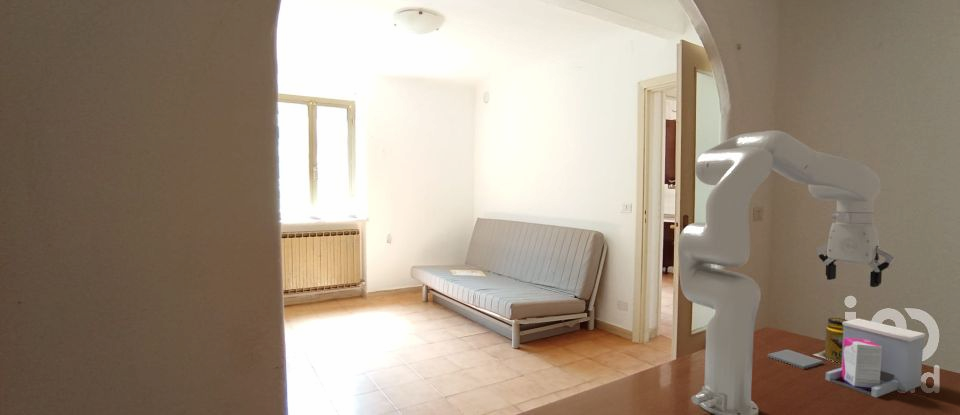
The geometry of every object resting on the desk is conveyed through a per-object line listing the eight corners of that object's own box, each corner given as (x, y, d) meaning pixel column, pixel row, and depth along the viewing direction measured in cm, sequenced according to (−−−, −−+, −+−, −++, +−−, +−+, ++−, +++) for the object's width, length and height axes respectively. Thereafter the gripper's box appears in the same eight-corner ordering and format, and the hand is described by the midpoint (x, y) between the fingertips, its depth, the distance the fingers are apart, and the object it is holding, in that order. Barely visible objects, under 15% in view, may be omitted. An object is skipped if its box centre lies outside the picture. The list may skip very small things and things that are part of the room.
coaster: (803, 369, 126) (803, 366, 125) (767, 356, 134) (767, 354, 134) (823, 363, 130) (823, 360, 130) (786, 351, 139) (787, 349, 139)
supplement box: (880, 390, 113) (883, 346, 112) (853, 388, 114) (856, 344, 113) (865, 381, 118) (868, 338, 118) (840, 378, 119) (842, 336, 119)
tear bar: (870, 395, 110) (870, 393, 110) (830, 381, 118) (830, 379, 118) (871, 395, 110) (872, 392, 110) (831, 380, 118) (831, 378, 118)
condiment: (845, 365, 129) (847, 324, 128) (812, 355, 136) (813, 316, 136) (857, 360, 132) (859, 321, 132) (824, 351, 140) (826, 313, 139)
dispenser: (884, 400, 107) (888, 344, 107) (818, 377, 120) (820, 327, 120) (922, 385, 116) (925, 333, 115) (855, 365, 129) (858, 318, 128)
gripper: (810, 217, 124) (808, 278, 125) (889, 222, 108) (886, 291, 109) (824, 216, 127) (822, 275, 128) (903, 220, 112) (900, 287, 113)
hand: (852, 282), depth 119 cm, fingers open, 9 cm apart
